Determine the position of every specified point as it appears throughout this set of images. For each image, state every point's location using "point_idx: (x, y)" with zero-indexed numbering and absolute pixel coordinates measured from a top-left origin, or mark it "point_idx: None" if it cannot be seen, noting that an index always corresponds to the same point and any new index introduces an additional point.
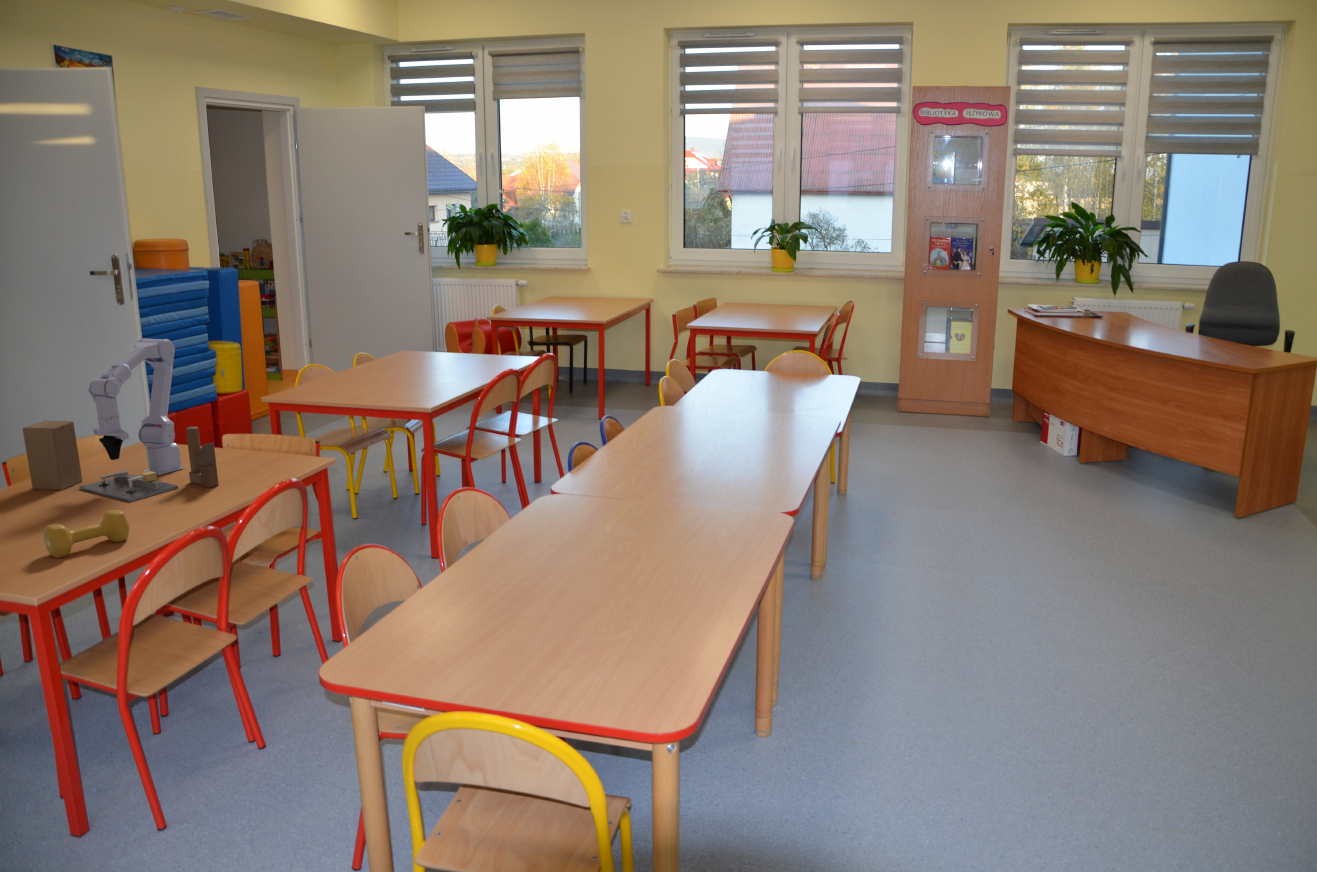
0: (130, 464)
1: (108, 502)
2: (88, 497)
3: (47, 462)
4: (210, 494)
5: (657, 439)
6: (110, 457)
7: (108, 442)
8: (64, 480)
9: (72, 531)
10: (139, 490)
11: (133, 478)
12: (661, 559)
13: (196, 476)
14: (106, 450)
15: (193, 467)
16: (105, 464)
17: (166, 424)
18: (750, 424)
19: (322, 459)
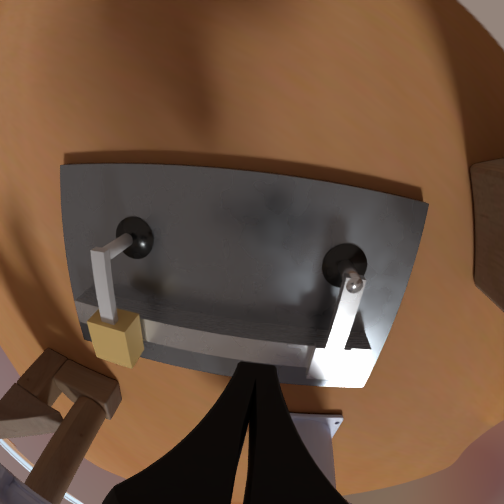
0: (425, 424)
1: (124, 116)
2: (273, 117)
3: None
4: (10, 307)
5: (20, 455)
6: (257, 374)
7: (113, 489)
8: (492, 195)
9: None
10: (122, 262)
11: (95, 273)
12: None
13: (74, 381)
14: (288, 424)
15: (75, 405)
16: (480, 395)
17: None
18: (27, 466)
19: (102, 468)
